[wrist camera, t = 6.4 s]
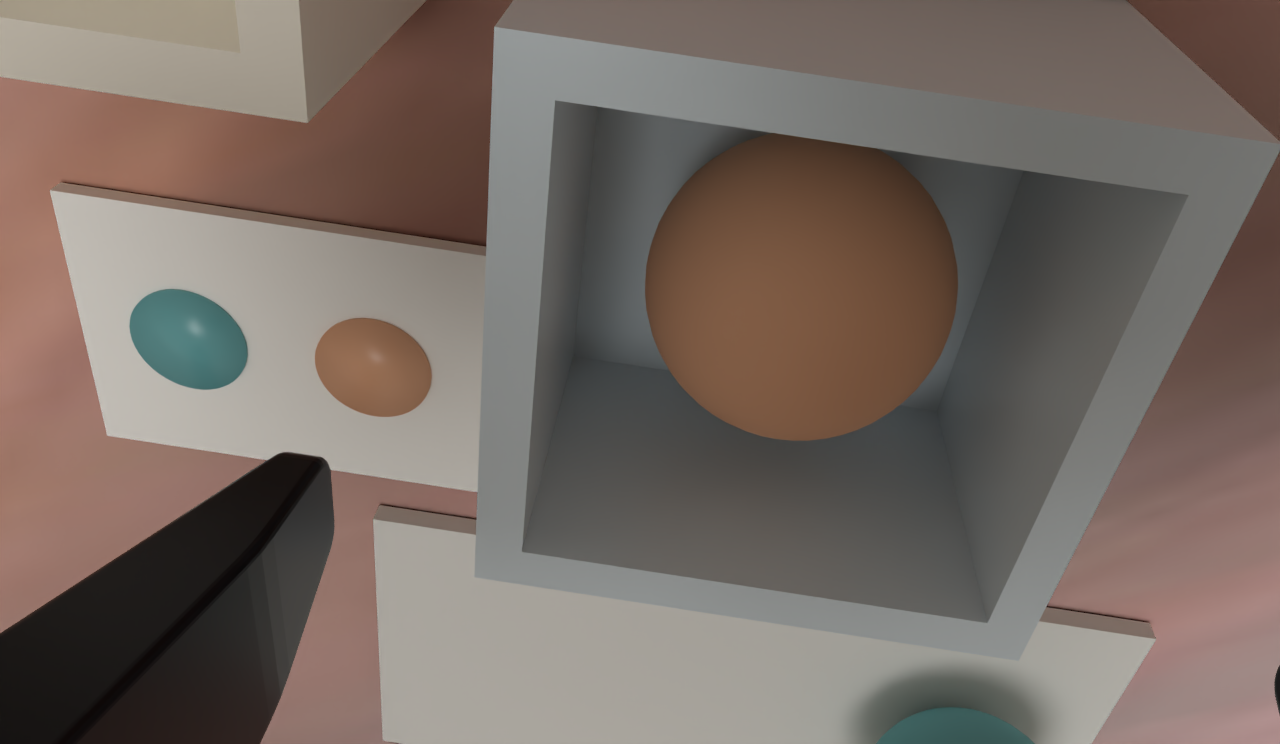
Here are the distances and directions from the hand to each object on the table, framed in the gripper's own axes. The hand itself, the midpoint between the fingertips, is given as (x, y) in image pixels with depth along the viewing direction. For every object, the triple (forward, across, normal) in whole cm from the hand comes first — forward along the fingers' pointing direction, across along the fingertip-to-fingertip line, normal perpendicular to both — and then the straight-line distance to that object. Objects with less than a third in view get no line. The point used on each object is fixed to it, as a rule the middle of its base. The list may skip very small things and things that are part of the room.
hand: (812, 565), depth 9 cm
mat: (+8, -1, +11) cm, 13 cm away
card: (+8, +8, +4) cm, 12 cm away
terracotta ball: (+5, 0, 0) cm, 5 cm away
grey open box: (+8, 0, 0) cm, 8 cm away
